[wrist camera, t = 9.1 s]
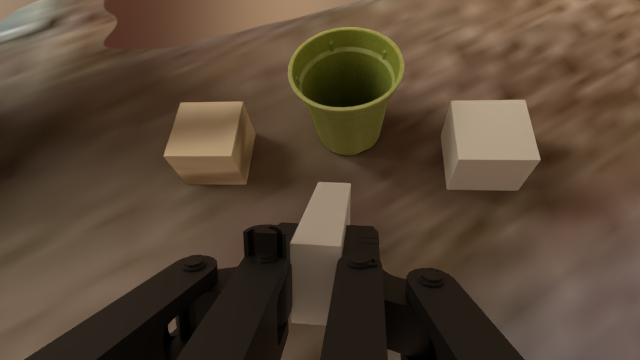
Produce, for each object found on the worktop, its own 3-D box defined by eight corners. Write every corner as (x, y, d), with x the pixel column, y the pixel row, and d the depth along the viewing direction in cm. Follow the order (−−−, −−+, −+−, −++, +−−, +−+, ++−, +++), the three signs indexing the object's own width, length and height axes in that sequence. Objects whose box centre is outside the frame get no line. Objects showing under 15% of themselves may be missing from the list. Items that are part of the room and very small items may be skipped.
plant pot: (288, 159, 37) (270, 98, 29) (318, 89, 41) (309, 20, 34) (383, 181, 35) (389, 120, 27) (405, 104, 39) (415, 34, 31)
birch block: (246, 185, 36) (231, 156, 32) (186, 184, 37) (163, 156, 32) (256, 134, 39) (242, 101, 35) (200, 134, 40) (180, 102, 35)
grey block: (517, 191, 33) (540, 160, 29) (446, 190, 34) (458, 159, 29) (505, 135, 36) (525, 99, 32) (440, 135, 37) (450, 100, 32)
